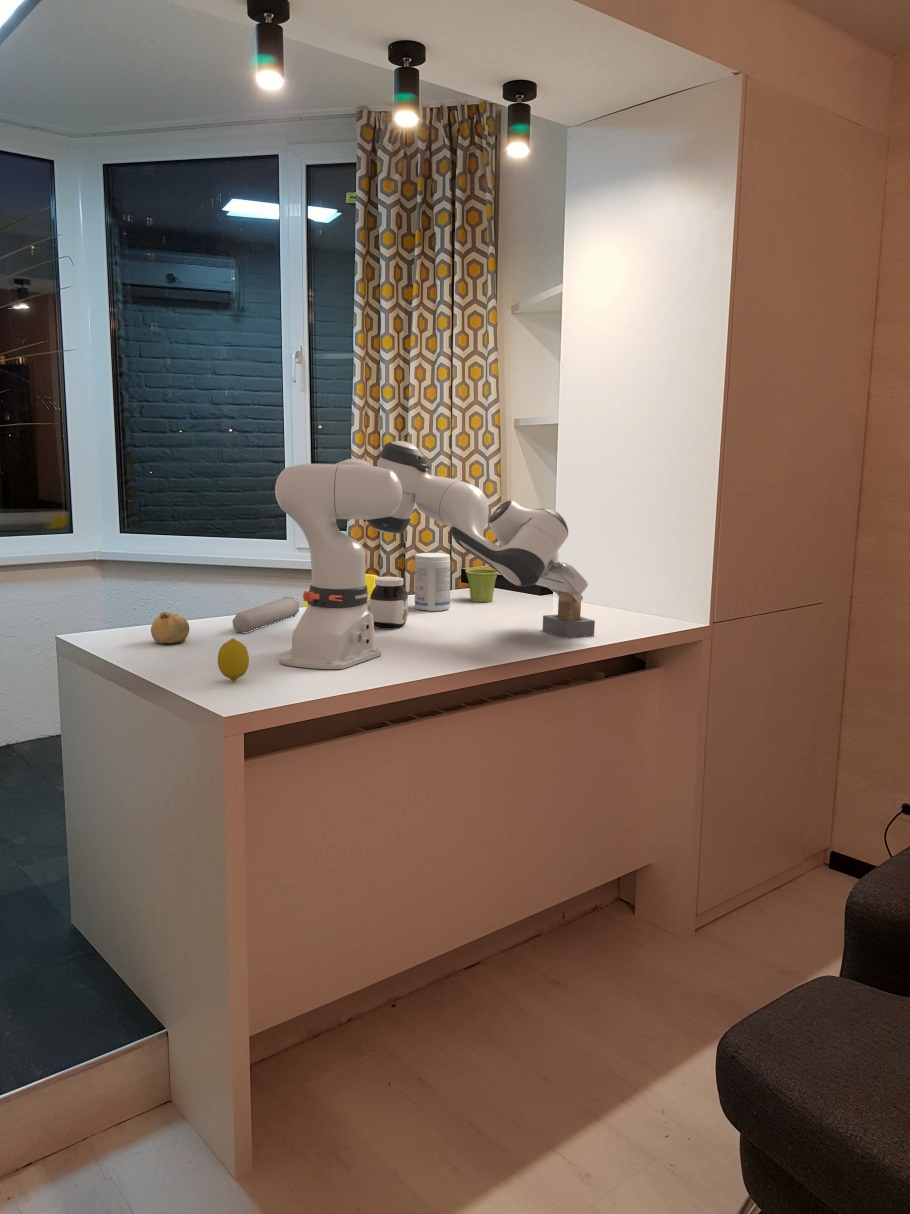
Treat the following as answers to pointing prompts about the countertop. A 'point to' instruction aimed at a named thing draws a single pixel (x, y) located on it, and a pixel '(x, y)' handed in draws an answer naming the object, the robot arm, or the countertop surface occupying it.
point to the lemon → (233, 659)
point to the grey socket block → (568, 626)
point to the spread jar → (388, 603)
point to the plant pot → (481, 584)
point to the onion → (169, 628)
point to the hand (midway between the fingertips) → (571, 598)
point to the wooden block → (568, 607)
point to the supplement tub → (432, 581)
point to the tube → (265, 614)
